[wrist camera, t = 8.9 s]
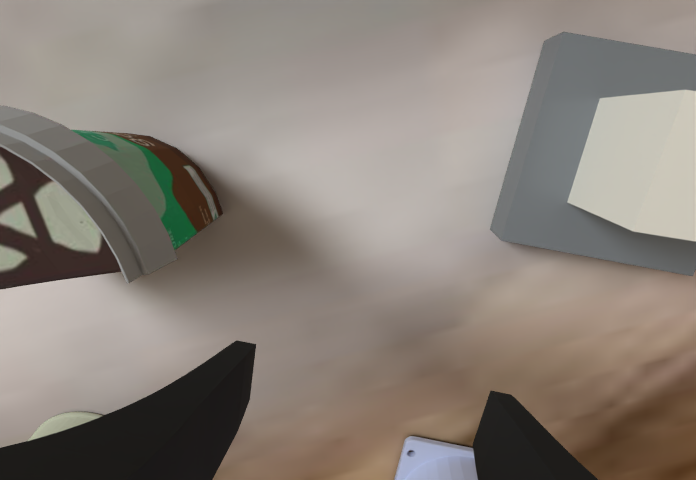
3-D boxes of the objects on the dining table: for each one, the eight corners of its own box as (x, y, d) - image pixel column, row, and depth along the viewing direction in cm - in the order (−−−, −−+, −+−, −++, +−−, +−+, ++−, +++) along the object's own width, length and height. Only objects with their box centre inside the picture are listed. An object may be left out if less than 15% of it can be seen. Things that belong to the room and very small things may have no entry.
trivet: (663, 261, 21) (692, 276, 19) (490, 229, 21) (500, 240, 19) (744, 75, 18) (787, 70, 16) (544, 41, 18) (563, 31, 16)
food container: (221, 89, 20) (75, 62, 10) (249, 210, 22) (145, 281, 12) (2, 130, 22) (-300, 139, 12) (44, 240, 23) (-192, 324, 14)
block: (667, 218, 18) (770, 253, 13) (567, 202, 18) (633, 231, 13) (708, 114, 17) (839, 112, 12) (600, 98, 17) (685, 89, 12)
